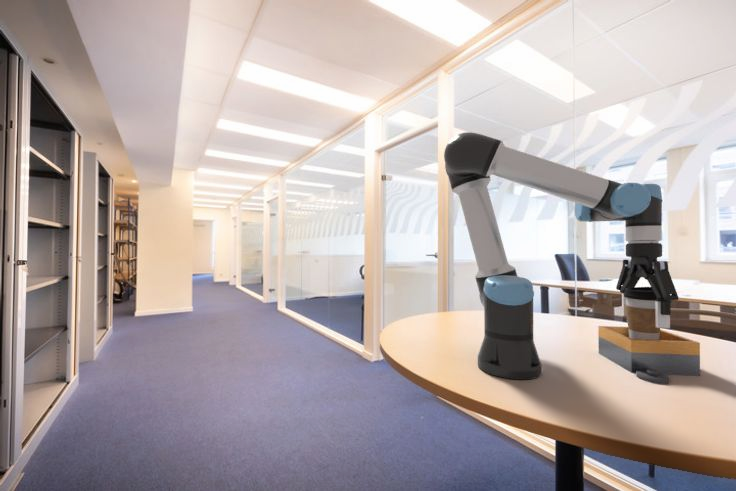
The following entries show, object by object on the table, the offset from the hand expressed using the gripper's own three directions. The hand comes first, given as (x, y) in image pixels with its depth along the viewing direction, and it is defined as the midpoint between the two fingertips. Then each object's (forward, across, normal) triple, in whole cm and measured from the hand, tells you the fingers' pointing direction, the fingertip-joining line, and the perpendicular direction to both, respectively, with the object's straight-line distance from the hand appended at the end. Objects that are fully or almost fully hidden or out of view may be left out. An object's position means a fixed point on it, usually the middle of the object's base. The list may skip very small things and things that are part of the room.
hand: (644, 321), depth 88 cm
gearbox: (+11, 0, 0) cm, 11 cm away
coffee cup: (+6, 0, 0) cm, 6 cm away
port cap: (+12, -11, +5) cm, 17 cm away
